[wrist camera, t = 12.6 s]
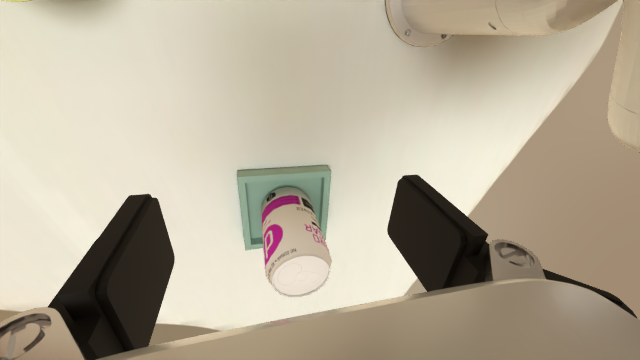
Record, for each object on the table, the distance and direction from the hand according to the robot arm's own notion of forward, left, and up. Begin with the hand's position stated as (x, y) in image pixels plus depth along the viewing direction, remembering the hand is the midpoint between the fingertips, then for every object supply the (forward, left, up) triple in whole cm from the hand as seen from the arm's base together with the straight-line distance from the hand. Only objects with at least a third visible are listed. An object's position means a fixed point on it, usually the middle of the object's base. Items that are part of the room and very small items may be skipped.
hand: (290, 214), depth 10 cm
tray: (-3, +19, -28) cm, 34 cm away
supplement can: (-3, +19, -28) cm, 34 cm away
